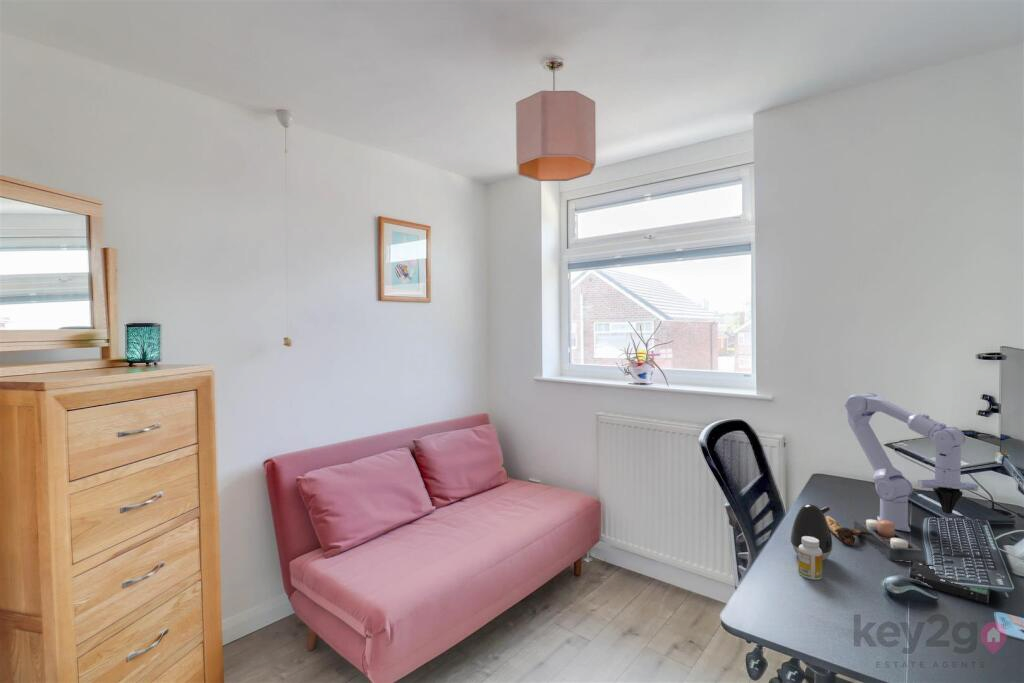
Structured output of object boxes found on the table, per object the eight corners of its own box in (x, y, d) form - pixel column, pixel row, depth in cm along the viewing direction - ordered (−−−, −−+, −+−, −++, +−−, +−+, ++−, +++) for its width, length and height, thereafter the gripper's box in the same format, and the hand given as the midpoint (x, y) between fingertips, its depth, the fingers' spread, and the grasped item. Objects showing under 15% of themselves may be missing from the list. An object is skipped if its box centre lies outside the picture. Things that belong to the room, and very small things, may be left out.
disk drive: (908, 584, 125) (989, 606, 115) (908, 574, 125) (989, 594, 115) (913, 570, 133) (989, 589, 122) (913, 560, 133) (989, 578, 122)
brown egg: (874, 532, 148) (875, 519, 148) (889, 533, 147) (890, 520, 147) (881, 537, 144) (882, 524, 144) (897, 538, 144) (897, 525, 143)
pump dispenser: (842, 565, 134) (842, 510, 134) (806, 566, 134) (806, 511, 133) (816, 548, 144) (816, 497, 144) (782, 549, 144) (783, 498, 143)
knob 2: (887, 550, 142) (887, 537, 141) (903, 552, 141) (903, 538, 141) (894, 557, 138) (895, 543, 138) (911, 558, 137) (911, 544, 137)
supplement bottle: (818, 572, 131) (819, 536, 130) (824, 581, 126) (825, 544, 125) (796, 568, 132) (796, 533, 132) (800, 578, 127) (801, 541, 127)
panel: (854, 530, 157) (854, 519, 157) (882, 532, 155) (882, 521, 155) (889, 560, 137) (890, 548, 137) (922, 563, 135) (922, 550, 135)
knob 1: (863, 531, 155) (863, 518, 155) (877, 532, 154) (877, 519, 154) (869, 536, 151) (870, 523, 151) (884, 537, 150) (884, 524, 150)
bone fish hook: (874, 551, 144) (848, 525, 161) (875, 535, 144) (849, 511, 161) (838, 547, 146) (817, 522, 164) (839, 531, 146) (817, 508, 163)
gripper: (928, 470, 144) (927, 515, 145) (986, 473, 141) (985, 519, 141) (914, 463, 151) (913, 507, 151) (968, 466, 148) (968, 510, 148)
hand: (947, 512), depth 147 cm, fingers closed
